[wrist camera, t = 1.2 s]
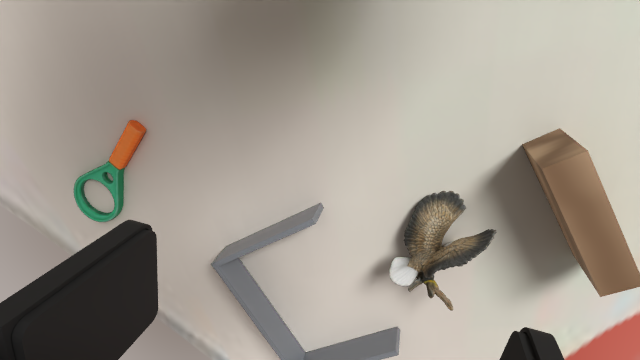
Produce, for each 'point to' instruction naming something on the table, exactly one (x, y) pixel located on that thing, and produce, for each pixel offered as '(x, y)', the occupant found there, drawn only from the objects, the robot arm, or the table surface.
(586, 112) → the table surface
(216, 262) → the grey bent bar
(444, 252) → the eagle figurine
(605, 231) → the brown rectangular block
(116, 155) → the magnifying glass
